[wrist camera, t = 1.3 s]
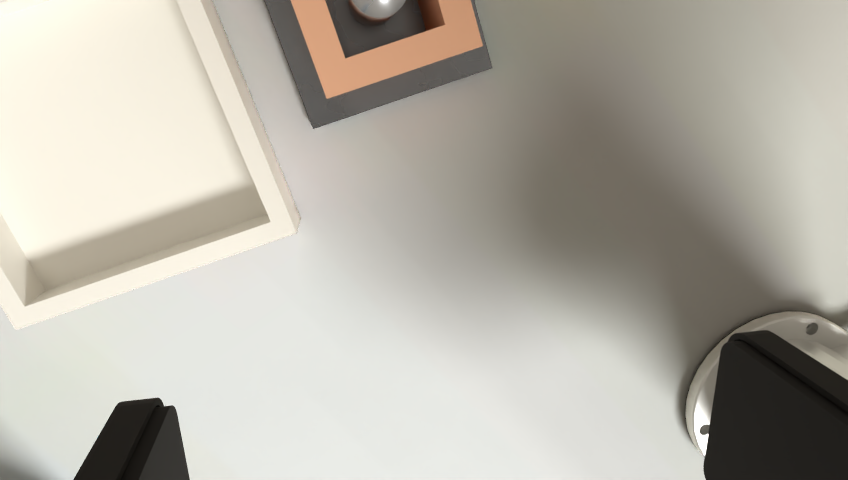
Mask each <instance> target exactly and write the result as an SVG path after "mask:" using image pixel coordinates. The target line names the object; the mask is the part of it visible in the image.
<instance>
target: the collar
mask: <svg viewBox="0 0 848 480" xmlns="http://www.w3.org/2000/svg"><path fill="white" fill-rule="evenodd" d="M417 2H418V5H419V8H420V12H421V15H422V18H423V22H424V25H425V28H426V31H425V32H422V33H419V34H416V35H413V36H410V37H407V38H404V39H401V40H399V41H396V42H393V43H390V44H387V45H384V46H381V47H378V48H375V49H372V50H369V51H366V52H363V53H360V54H357V55H354V56H351V57H348V58H345V56H344V53H343V50H342V47H341V45H340V42H339V39H338V36H337V33H336V30H335V27H334V24H333V22H332V19H331V16H330V13H329V10H328V7H327V4H326V1H325V0H291V3H292V5H293V8H294V11H295V13H296V16H297V19H298V22H299V24H300V27H301V30H302V33H303V35H304V38H305V41H306V44H307V46H308V49H309V52H310V55H311V57H312V60H313V63H314V65H315V68H316V71H317V74H318V76H319V79H320V82H321V85H322V87H323V90H324V93H325V96H326V98H327V99H328V98H331V97H334V96H337V95H340V94H343V93H346V92H349V91H352V90H355V89H358V88H361V87H364V86H367V85H370V84H373V83H376V82H379V81H381V80H384V79H387V78H390V77H393V76H396V75H399V74H402V73H405V72H408V71H411V70H414V69H417V68H420V67H423V66H426V65H429V64H432V63H435V62H437V61H440V60H443V59H446V58H449V57H452V56H455V55H458V54H461V53H464V52H467V51H470V50H473V49H476V48H479V47H482V46H483V44H482V40H481V36H480V33H479V29H478V25H477V22H476V18H475V14H474V11H473V7H472V3H471V0H417Z"/></svg>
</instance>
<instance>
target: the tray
mask: <svg viewBox="0 0 848 480" xmlns="http://www.w3.org/2000/svg"><path fill="white" fill-rule="evenodd" d="M300 220H301V217H300V215H299V212H298V210H297V207H296V205H295V203H294V200H293V198H292V195H291V193H290V190H289V188H288V185H287V183H286V180H285V178H284V175H283V173H282V171H281V168H280V166H279V163H278V161H277V158H276V156H275V153H274V151H273V148H272V146H271V143H270V141H269V139H268V136H267V134H266V131H265V129H264V126H263V124H262V121H261V119H260V116H259V114H258V112H257V109H256V107H255V104H254V102H253V99H252V97H251V94H250V92H249V89H248V87H247V84H246V82H245V80H244V77H243V75H242V72H241V70H240V67H239V65H238V62H237V60H236V57H235V55H234V52H233V50H232V48H231V45H230V43H229V40H228V38H227V35H226V33H225V30H224V28H223V25H222V23H221V21H220V18H219V16H218V13H217V11H216V8H215V6H214V3H213V1H212V0H0V305H1V307H2V309H3V310H4V312H5V314H6V315H7V317H8V318H9V320H10V322H11V323H12V325H13V327H14V328H15V330H18V329H21V328H24V327H27V326H30V325H33V324H35V323H38V322H41V321H44V320H47V319H50V318H53V317H56V316H59V315H62V314H64V313H67V312H70V311H73V310H76V309H79V308H82V307H85V306H88V305H91V304H93V303H96V302H99V301H102V300H105V299H108V298H111V297H114V296H117V295H119V294H122V293H125V292H128V291H131V290H134V289H137V288H140V287H143V286H146V285H148V284H151V283H154V282H157V281H160V280H163V279H166V278H169V277H172V276H175V275H177V274H180V273H183V272H186V271H189V270H192V269H195V268H198V267H201V266H204V265H206V264H209V263H212V262H215V261H218V260H221V259H224V258H227V257H230V256H232V255H235V254H238V253H241V252H244V251H247V250H250V249H253V248H256V247H259V246H261V245H264V244H267V243H270V242H273V241H276V240H279V239H282V238H285V237H288V236H290V235H293V234H296V233H297V231H298V227H299V224H300Z"/></svg>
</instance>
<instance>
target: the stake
mask: <svg viewBox="0 0 848 480" xmlns="http://www.w3.org/2000/svg"><path fill="white" fill-rule="evenodd" d="M325 1H326V4H327V7H328V10H329V13H330V16H331V19H332V22H333V24H334V27H335V30H336V33H337V36H338V39H339V42H340V45H341V47H342V50H343V53H344V56H345V58H348V57H351V56H354V55H357V54H360V53H363V52H366V51H369V50H372V49H375V48H378V47H381V46H384V45H387V44H390V43H393V42H396V41H399V40H401V39H404V38H407V37H410V36H413V35H416V34H419V33H422V32H425V31H426V28H425V25H424V22H423V18H422V15H421V12H420V8H419V5H418V2H417V0H325ZM265 3H266V5H267V8H268V11H269V13H270V16H271V19H272V21H273V24H274V26H275V29H276V32H277V34H278V37H279V40H280V42H281V45H282V48H283V50H284V53H285V55H286V58H287V61H288V63H289V66H290V69H291V71H292V74H293V77H294V79H295V82H296V85H297V87H298V90H299V92H300V95H301V98H302V100H303V103H304V106H305V108H306V111H307V114H308V116H309V119H310V121H311V124H312V127H313V129H314V128H317V127H320V126H323V125H326V124H329V123H332V122H335V121H338V120H341V119H344V118H347V117H350V116H353V115H356V114H359V113H361V112H364V111H367V110H370V109H373V108H376V107H379V106H382V105H385V104H388V103H391V102H394V101H397V100H400V99H403V98H406V97H408V96H411V95H414V94H417V93H420V92H423V91H426V90H429V89H432V88H435V87H438V86H441V85H444V84H447V83H450V82H452V81H455V80H458V79H461V78H464V77H467V76H470V75H473V74H476V73H479V72H482V71H485V70H488V69H491V68H492V66H491V62H490V58H489V54H488V51H487V47H486V43H485V40H484V36H483V32H482V28H481V25H480V21H479V17H478V14H477V10H476V6H475V2H474V0H471V3H472V7H473V11H474V14H475V18H476V22H477V25H478V29H479V33H480V36H481V40H482V44H483V46H482V47H479V48H476V49H473V50H470V51H467V52H464V53H461V54H458V55H455V56H452V57H449V58H446V59H443V60H440V61H437V62H435V63H432V64H429V65H426V66H423V67H420V68H417V69H414V70H411V71H408V72H405V73H402V74H399V75H396V76H393V77H390V78H387V79H384V80H381V81H379V82H376V83H373V84H370V85H367V86H364V87H361V88H358V89H355V90H352V91H349V92H346V93H343V94H340V95H337V96H334V97H331V98H328V99H327V98H326V96H325V93H324V90H323V87H322V85H321V82H320V79H319V76H318V74H317V71H316V68H315V65H314V63H313V60H312V57H311V55H310V52H309V49H308V46H307V44H306V41H305V38H304V35H303V33H302V30H301V27H300V24H299V22H298V19H297V16H296V13H295V11H294V8H293V5H292V3H291V0H265Z"/></svg>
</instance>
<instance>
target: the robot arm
mask: <svg viewBox="0 0 848 480" xmlns="http://www.w3.org/2000/svg"><path fill="white" fill-rule="evenodd" d="M685 415H686V422H687V429H688V432H689V434H690V437H691V439H692V442H693V443H694V445H695V446H696V448H697V449H698V450H699V452H700V453H701V454H702V455H703V456H704V457H705V460H704V475H705V478H706V480H848V332H847V331H846V330H844V329H843V328H841V327H839V326H838V325H836V324H835V323H833V322H831V321H829V320H827V319H825V318H823V317H821V316H819V315H815V314H811V313H806V312H791V311H786V312H780V313H774V314H769V315H766V316H763V317H760V318H758V319H755V320H752V321H750V322H748V323H747V324H745V325H743V326H741V327H739V328H738V329H736V330H735V331H733V332H732V333H731V334H729V335H728V336H727V337H725V338H724V339H723V340H721V341H720V343H719V344H718V345H717V346H716V347H715V348H714V349H713V350H712V351H711V352H710V353H709V354H708V355H707V357H706V358H705V360H704V361H703V363H702V364H701V365H700V367H699V368H698V370H697V372H696V374H695V377H694V379H693V381H692V383H691V385H690V389H689V393H688V396H687V401H686V414H685ZM74 480H190V479H189V474H188V469H187V463H186V458H185V453H184V448H183V442H182V437H181V432H180V427H179V422H178V416H177V412H176V409H175V407H174V406H164V405H163V402H162V400H161V399H160V398H151V399H142V400H133V401H124V402H120V403H118V404H117V406H116V407H115V409H114V410H113V412H112V414H111V416H110V417H109V419H108V421H107V422H106V424H105V426H104V428H103V429H102V431H101V433H100V435H99V436H98V438H97V440H96V442H95V443H94V445H93V447H92V448H91V450H90V452H89V454H88V455H87V457H86V459H85V461H84V462H83V464H82V466H81V467H80V469H79V471H78V473H77V474H76V476H75V478H74Z"/></svg>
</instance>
